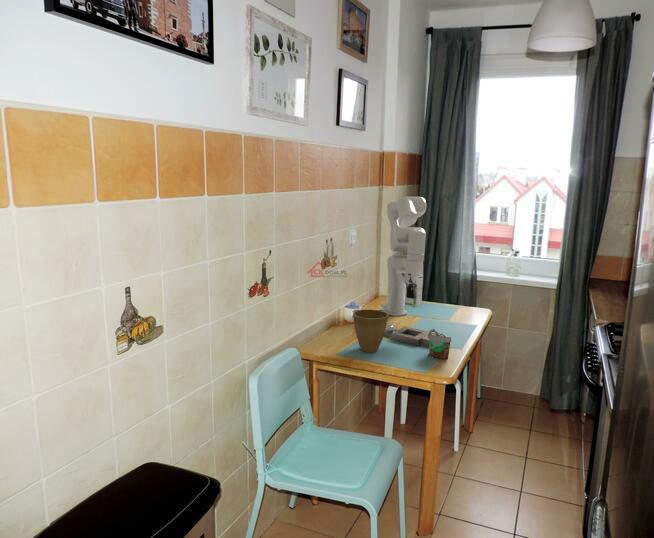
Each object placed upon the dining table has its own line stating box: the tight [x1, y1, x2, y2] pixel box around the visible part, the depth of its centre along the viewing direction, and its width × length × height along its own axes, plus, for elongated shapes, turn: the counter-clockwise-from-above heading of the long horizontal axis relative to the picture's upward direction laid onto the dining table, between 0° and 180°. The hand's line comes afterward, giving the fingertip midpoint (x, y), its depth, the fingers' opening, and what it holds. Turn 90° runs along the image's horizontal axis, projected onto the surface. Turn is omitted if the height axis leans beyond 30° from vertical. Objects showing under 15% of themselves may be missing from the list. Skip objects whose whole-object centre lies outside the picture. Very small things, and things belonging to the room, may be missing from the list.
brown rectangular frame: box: [391, 325, 430, 347], centre depth 235 cm, size 21×14×4 cm, turn 55°
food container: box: [427, 328, 452, 361], centre depth 215 cm, size 12×6×10 cm, turn 23°
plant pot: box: [352, 308, 389, 353], centre depth 221 cm, size 15×15×16 cm
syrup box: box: [404, 274, 424, 309], centre depth 233 cm, size 6×6×14 cm
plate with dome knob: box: [383, 324, 421, 347], centre depth 239 cm, size 21×14×4 cm, turn 55°
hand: (413, 296), depth 234 cm, fingers closed on syrup box, 6 cm apart
